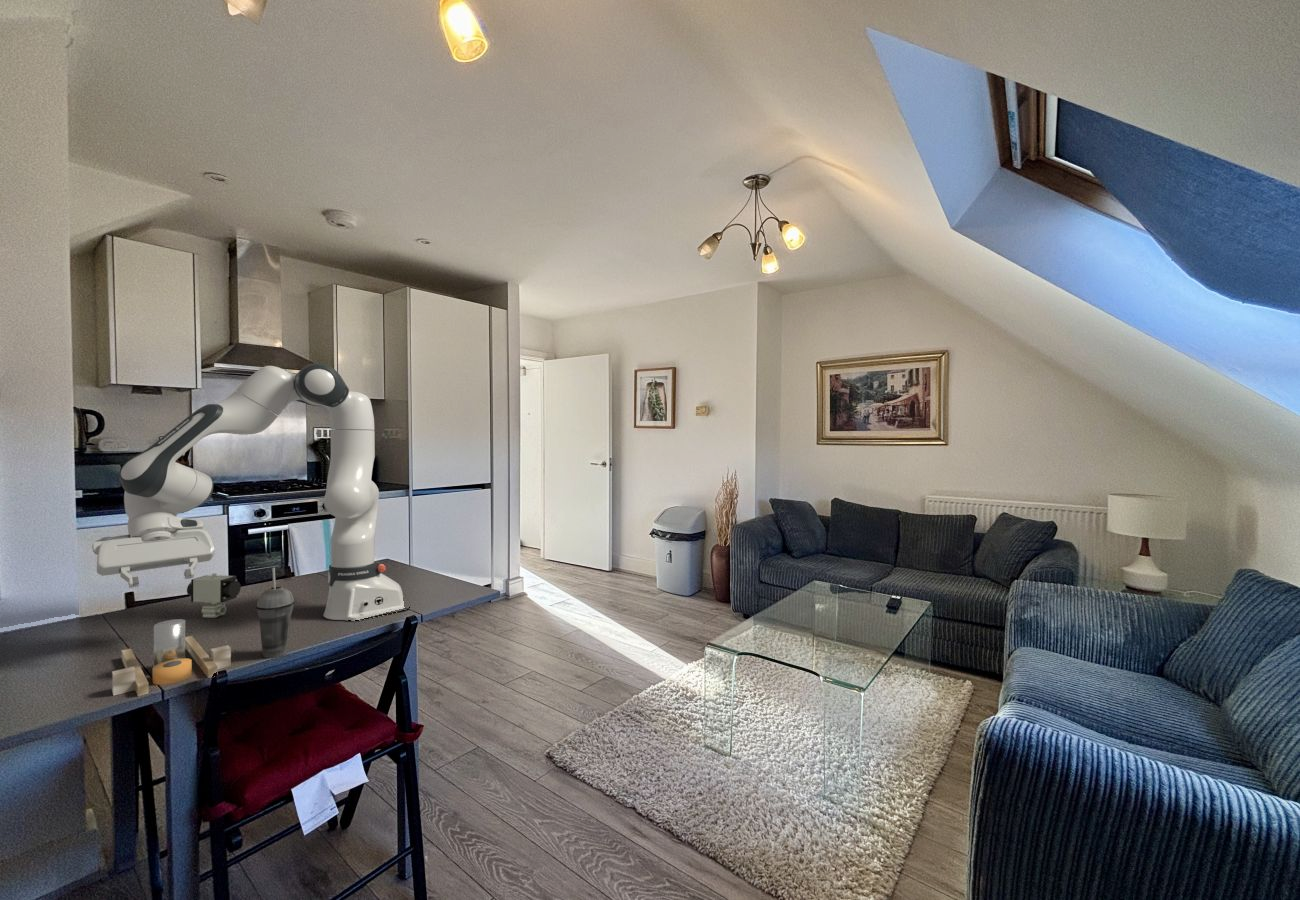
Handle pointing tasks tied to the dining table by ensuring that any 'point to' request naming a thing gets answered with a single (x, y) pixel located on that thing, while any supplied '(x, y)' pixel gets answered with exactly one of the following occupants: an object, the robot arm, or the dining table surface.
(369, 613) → the robot arm
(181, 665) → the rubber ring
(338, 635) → the dining table surface
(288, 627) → the beverage cup
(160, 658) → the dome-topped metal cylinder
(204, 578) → the pneumatic valve
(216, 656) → the guide track
